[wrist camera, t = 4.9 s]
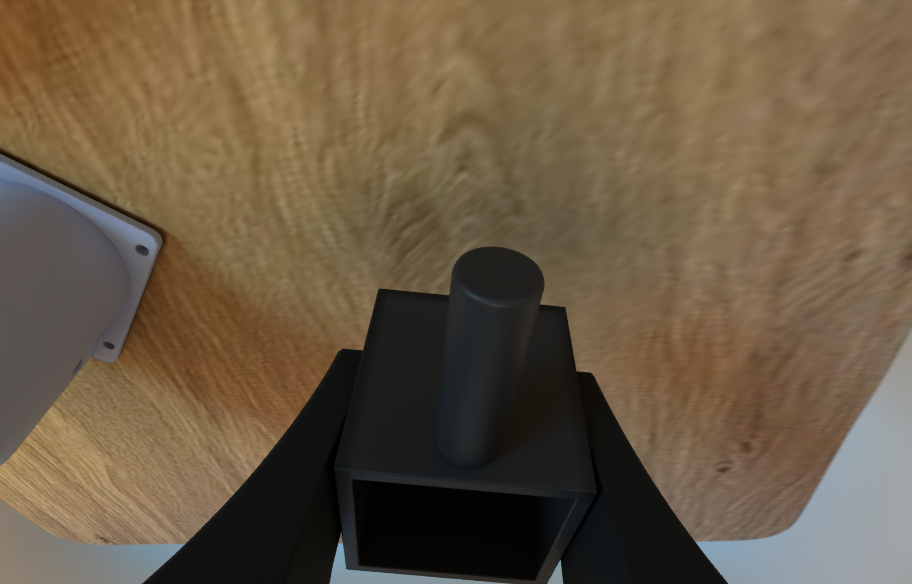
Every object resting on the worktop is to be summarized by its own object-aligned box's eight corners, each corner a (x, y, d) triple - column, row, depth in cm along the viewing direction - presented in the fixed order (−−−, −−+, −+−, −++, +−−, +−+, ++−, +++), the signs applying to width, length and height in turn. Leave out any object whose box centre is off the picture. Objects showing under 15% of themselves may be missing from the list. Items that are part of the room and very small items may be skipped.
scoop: (532, 413, 15) (545, 587, 11) (379, 398, 15) (345, 570, 11) (613, 156, 9) (687, 333, 6) (377, 131, 9) (310, 295, 6)
